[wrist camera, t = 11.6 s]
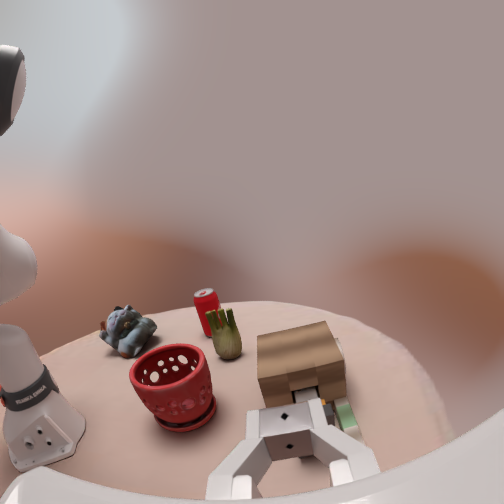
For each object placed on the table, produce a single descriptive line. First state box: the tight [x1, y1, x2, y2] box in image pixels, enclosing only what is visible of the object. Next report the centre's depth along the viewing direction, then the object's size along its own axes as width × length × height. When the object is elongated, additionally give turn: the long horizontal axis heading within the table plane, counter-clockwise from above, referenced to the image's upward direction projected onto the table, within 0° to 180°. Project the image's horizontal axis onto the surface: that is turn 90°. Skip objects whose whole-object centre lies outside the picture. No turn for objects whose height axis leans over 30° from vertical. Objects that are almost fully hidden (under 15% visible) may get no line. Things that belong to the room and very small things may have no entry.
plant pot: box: [129, 344, 216, 432], centre depth 41 cm, size 13×13×12 cm
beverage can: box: [194, 288, 222, 337], centre depth 71 cm, size 6×6×12 cm
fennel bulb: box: [205, 308, 242, 359], centre depth 58 cm, size 6×5×12 cm
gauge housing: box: [257, 321, 365, 445], centre depth 36 cm, size 23×13×10 cm, turn 179°
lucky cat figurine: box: [99, 305, 157, 358], centre depth 71 cm, size 15×12×14 cm
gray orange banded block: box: [294, 386, 335, 458], centre depth 35 cm, size 16×5×8 cm, turn 179°
